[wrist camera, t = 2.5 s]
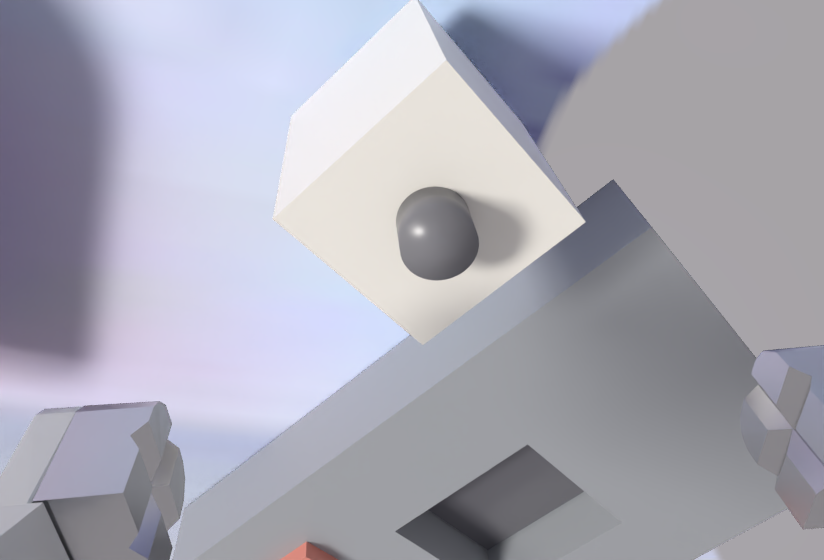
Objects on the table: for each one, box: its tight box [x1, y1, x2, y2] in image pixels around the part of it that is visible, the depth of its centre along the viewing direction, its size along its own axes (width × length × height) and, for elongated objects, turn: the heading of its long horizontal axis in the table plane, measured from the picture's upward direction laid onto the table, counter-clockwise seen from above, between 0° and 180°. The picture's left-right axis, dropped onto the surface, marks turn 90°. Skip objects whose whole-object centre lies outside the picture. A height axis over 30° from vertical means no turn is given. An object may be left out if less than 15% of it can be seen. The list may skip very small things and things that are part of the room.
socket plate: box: [172, 180, 788, 560], centre depth 25 cm, size 20×14×4 cm
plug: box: [273, 0, 586, 345], centre depth 15 cm, size 4×4×8 cm
